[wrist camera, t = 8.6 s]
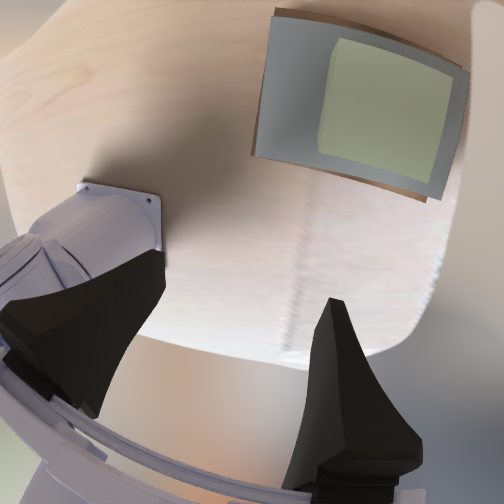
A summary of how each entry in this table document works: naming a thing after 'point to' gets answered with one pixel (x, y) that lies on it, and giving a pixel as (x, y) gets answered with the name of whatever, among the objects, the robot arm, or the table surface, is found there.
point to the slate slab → (312, 95)
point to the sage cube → (383, 110)
